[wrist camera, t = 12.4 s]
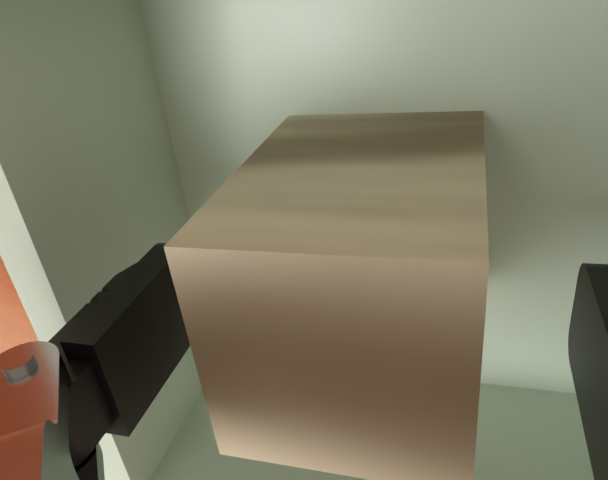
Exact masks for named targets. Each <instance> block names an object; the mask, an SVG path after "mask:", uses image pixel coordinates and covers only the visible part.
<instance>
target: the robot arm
mask: <svg viewBox="0 0 608 480" xmlns="http://www.w3.org/2000/svg"><path fill="white" fill-rule="evenodd" d="M165 244H166V243H157V244H155V245H154V246H153V247H152V248H151V249H150V250H149V251H148V252H147V253H146V254H145V255H144V256H143V257H142V258H141V259H140V260H139V261H138V262H137V263H135V264H133V265H131V266H130V267H128V268H126V269H125V270H123V271H121V272H120V273H118V274H116V275H115V276H114V277H113V278H112V279H111V280H110V281H109V282H108V283H107V284H106V285H105V286H104V287H103V288H102V291H99V292H98V293H97V294H96V295H95V296H94V297H93V298H92V299H91V300H90V303H87V304H86V305H85V306H84V307H83V308H82V309H81V310H80V311H79V312H78V313H77V314H76V315H75V316H73V317H72V318H71V319H70V320H69V321H68V322H67V323H66V324H65V325H64V326H63V327H62V328H61V329H60V330H59V331H58V332H57V333H56V334H55V335H54V336H53V337H52V338H51V339H50V340H49V341H48V342H45V341H35V342H29V343H25V344H21V345H18V346H15V347H13V348H11V349H9V350H7V351H5V352H3V353H1V354H0V480H105V476H104V462H103V452H102V449H101V447H100V444H99V441H100V440H101V439H102V437H103V436H104V435H105V433H108V434H114V435H120V436H126V437H129V436H130V435H131V433H132V432H133V430H134V429H135V427H136V426H137V424H138V423H139V421H140V420H141V418H142V417H143V415H144V414H145V412H146V411H147V409H148V408H149V406H150V405H151V403H152V402H153V400H154V399H155V397H156V396H157V394H158V393H159V391H160V390H161V389H162V387H163V386H164V384H165V383H166V381H167V380H168V378H169V377H170V375H171V374H172V372H173V371H174V369H175V368H176V366H177V365H178V363H179V362H180V360H181V359H182V357H183V356H184V354H185V353H186V351H187V350H188V348H189V347H190V343H189V339H188V335H187V332H186V328H185V324H184V321H183V317H182V313H181V310H180V306H179V302H178V299H177V295H176V291H175V287H174V284H173V280H172V276H171V273H170V269H169V265H168V262H167V258H166V254H165V251H164V245H165ZM568 355H569V363H570V368H571V372H572V377H573V382H574V386H575V391H576V396H577V401H578V405H579V410H580V415H581V420H582V424H583V429H584V434H585V439H586V443H587V448H588V453H589V457H590V462H591V467H592V472H593V476H594V480H608V264H592V263H582V264H581V266H580V269H579V273H578V278H577V284H576V290H575V296H574V302H573V308H572V314H571V320H570V326H569V334H568Z"/></svg>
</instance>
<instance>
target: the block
mask: <svg viewBox="0 0 608 480" xmlns="http://www.w3.org/2000/svg"><path fill="white" fill-rule="evenodd" d="M164 251H165V254H166V258H167V262H168V265H169V269H170V273H171V276H172V280H173V284H174V287H175V291H176V295H177V299H178V302H179V306H180V310H181V313H182V317H183V321H184V324H185V328H186V332H187V335H188V339H189V343H190V346H191V350H192V354H193V358H194V361H195V365H196V369H197V372H198V376H199V380H200V383H201V387H202V391H203V394H204V398H205V402H206V405H207V409H208V413H209V417H210V420H211V424H212V428H213V431H214V435H215V439H216V442H217V446H218V450H219V453H220V454H222V455H227V456H233V457H239V458H245V459H251V460H257V461H263V462H269V463H275V464H280V465H286V466H292V467H298V468H304V469H310V470H316V471H322V472H328V473H334V474H339V475H345V476H351V477H357V478H363V479H369V480H473V476H474V463H475V449H476V436H477V422H478V409H479V395H480V382H481V368H482V354H483V341H484V327H485V314H486V300H487V287H488V273H489V245H488V219H487V193H486V167H485V142H484V116H483V111H451V112H412V113H373V114H334V115H294V116H288V117H287V118H286V119H285V120H284V121H283V122H282V123H281V124H280V125H279V126H278V127H277V128H276V129H275V130H274V131H273V132H272V133H271V135H270V136H269V137H268V138H267V139H266V140H265V141H264V142H263V143H262V144H261V145H260V146H259V147H258V148H257V149H256V150H255V151H254V152H253V153H252V154H251V155H250V156H249V158H248V159H247V160H246V161H245V162H244V163H243V164H242V165H241V166H240V167H239V168H238V169H237V170H236V171H235V172H234V173H233V174H232V175H231V176H230V177H229V178H228V180H227V181H226V182H225V183H224V184H223V185H222V186H221V187H220V188H219V189H218V190H217V191H216V192H215V193H214V194H213V195H212V196H211V197H210V198H209V199H208V200H207V202H206V203H205V204H204V205H203V206H202V207H201V208H200V209H199V210H198V211H197V212H196V213H195V214H194V215H193V216H192V217H191V218H190V219H189V220H188V221H187V222H186V224H185V225H184V226H183V227H182V228H181V229H180V230H179V231H178V232H177V233H176V234H175V235H174V236H173V237H172V238H171V239H170V240H169V241H168V242H167V243H166V244H165V245H164Z"/></svg>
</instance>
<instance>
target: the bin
mask: <svg viewBox="0 0 608 480" xmlns="http://www.w3.org/2000/svg"><path fill="white" fill-rule="evenodd" d="M451 111H483V116H484V142H485V167H486V193H487V219H488V245H489V273H488V287H487V300H486V314H485V327H484V341H483V354H482V368H481V382H480V395H479V409H478V422H477V436H476V449H475V463H474V476H473V480H594V476H593V472H592V467H591V462H590V457H589V453H588V448H587V443H586V439H585V434H584V429H583V424H582V420H581V415H580V410H579V405H578V401H577V396H576V391H575V386H574V382H573V377H572V372H571V368H570V363H569V355H568V334H569V326H570V320H571V314H572V308H573V302H574V296H575V290H576V284H577V278H578V273H579V269H580V266H581V264H582V263H592V264H608V0H0V256H1V258H2V260H3V262H4V265H5V267H6V269H7V271H8V273H9V276H10V278H11V280H12V282H13V285H14V287H15V289H16V291H17V293H18V296H19V298H20V300H21V302H22V304H23V307H24V309H25V311H26V313H27V316H28V318H29V320H30V322H31V324H32V327H33V329H34V331H35V333H36V336H37V338H38V340H39V341H45V342H48V341H49V340H50V339H51V338H52V337H53V336H54V335H55V334H56V333H57V332H58V331H59V330H60V329H61V328H62V327H63V326H64V325H65V324H66V323H67V322H68V321H69V320H70V319H71V318H72V317H73V316H75V315H76V314H77V313H78V312H79V311H80V310H81V309H82V308H83V307H84V306H85V305H86V304H87V303H90V300H91V299H92V298H93V297H94V296H95V295H96V294H97V293H98V292H99V291H102V288H103V287H104V286H105V285H106V284H107V283H108V282H109V281H110V280H111V279H112V278H113V277H114V276H115V275H116V274H118V273H120V272H121V271H123V270H125V269H126V268H128V267H130V266H131V265H133V264H135V263H137V262H138V261H139V260H140V259H141V258H142V257H143V256H144V255H145V254H146V253H147V252H148V251H149V250H150V249H151V248H152V247H153V246H154V245H155V244H157V243H167V242H168V241H169V240H170V239H171V238H172V237H173V236H174V235H175V234H176V233H177V232H178V231H179V230H180V229H181V228H182V227H183V226H184V225H185V224H186V222H187V221H188V220H189V219H190V218H191V217H192V216H193V215H194V214H195V213H196V212H197V211H198V210H199V209H200V208H201V207H202V206H203V205H204V204H205V203H206V202H207V200H208V199H209V198H210V197H211V196H212V195H213V194H214V193H215V192H216V191H217V190H218V189H219V188H220V187H221V186H222V185H223V184H224V183H225V182H226V181H227V180H228V178H229V177H230V176H231V175H232V174H233V173H234V172H235V171H236V170H237V169H238V168H239V167H240V166H241V165H242V164H243V163H244V162H245V161H246V160H247V159H248V158H249V156H250V155H251V154H252V153H253V152H254V151H255V150H256V149H257V148H258V147H259V146H260V145H261V144H262V143H263V142H264V141H265V140H266V139H267V138H268V137H269V136H270V135H271V133H272V132H273V131H274V130H275V129H276V128H277V127H278V126H279V125H280V124H281V123H282V122H283V121H284V120H285V119H286V118H287V117H288V116H294V115H334V114H373V113H412V112H451ZM99 444H100V447H101V449H102V452H103V462H104V476H105V480H369V479H363V478H357V477H351V476H345V475H339V474H334V473H328V472H322V471H316V470H310V469H304V468H298V467H292V466H286V465H280V464H275V463H269V462H263V461H257V460H251V459H245V458H239V457H233V456H227V455H222V454H220V453H219V450H218V446H217V442H216V439H215V435H214V431H213V428H212V424H211V420H210V417H209V413H208V409H207V405H206V402H205V398H204V394H203V391H202V387H201V383H200V380H199V376H198V372H197V369H196V365H195V361H194V358H193V354H192V350H191V346H190V347H189V348H188V350H187V351H186V353H185V354H184V356H183V357H182V359H181V360H180V362H179V363H178V365H177V366H176V368H175V369H174V371H173V372H172V374H171V375H170V377H169V378H168V380H167V381H166V383H165V384H164V386H163V387H162V389H161V390H160V391H159V393H158V394H157V396H156V397H155V399H154V400H153V402H152V403H151V405H150V406H149V408H148V409H147V411H146V412H145V414H144V415H143V417H142V418H141V420H140V421H139V423H138V424H137V426H136V427H135V429H134V430H133V432H132V433H131V435H130V436H129V437H126V436H120V435H114V434H108V433H105V435H104V436H103V437H102V439H101V440H100V441H99Z"/></svg>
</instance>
